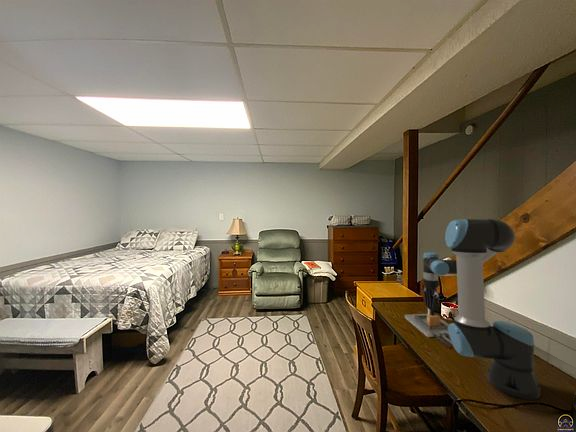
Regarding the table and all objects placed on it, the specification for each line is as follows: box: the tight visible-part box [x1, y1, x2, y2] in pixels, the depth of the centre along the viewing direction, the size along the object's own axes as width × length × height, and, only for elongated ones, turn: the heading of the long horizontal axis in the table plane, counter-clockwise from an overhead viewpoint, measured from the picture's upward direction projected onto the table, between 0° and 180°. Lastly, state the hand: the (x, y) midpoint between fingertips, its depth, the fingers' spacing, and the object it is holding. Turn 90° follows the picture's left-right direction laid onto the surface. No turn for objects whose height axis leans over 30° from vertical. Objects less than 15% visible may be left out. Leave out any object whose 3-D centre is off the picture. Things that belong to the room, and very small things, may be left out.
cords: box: [434, 335, 453, 349], centre depth 128 cm, size 11×8×1 cm
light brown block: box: [427, 314, 441, 326], centre depth 142 cm, size 3×6×5 cm, turn 92°
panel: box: [404, 313, 450, 338], centre depth 145 cm, size 24×18×4 cm
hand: (430, 319), depth 144 cm, fingers closed
